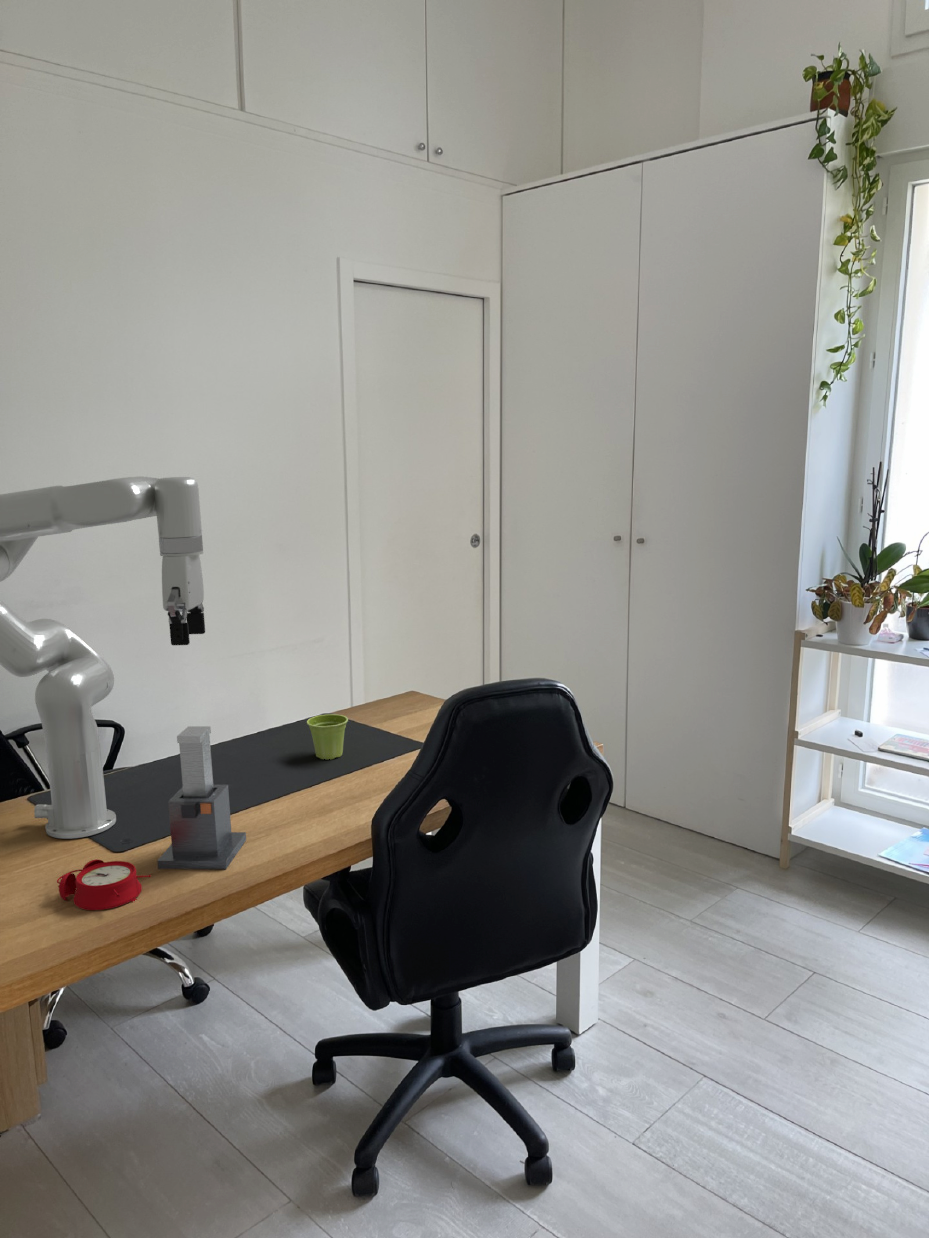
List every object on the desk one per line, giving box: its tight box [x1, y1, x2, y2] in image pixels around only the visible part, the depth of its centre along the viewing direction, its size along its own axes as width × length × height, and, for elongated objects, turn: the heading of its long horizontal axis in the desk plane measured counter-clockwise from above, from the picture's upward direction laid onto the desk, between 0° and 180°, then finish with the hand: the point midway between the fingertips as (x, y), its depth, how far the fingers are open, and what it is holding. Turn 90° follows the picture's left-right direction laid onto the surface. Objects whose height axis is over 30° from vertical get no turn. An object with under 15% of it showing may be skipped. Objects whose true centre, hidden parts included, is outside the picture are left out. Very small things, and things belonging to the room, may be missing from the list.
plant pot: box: [306, 713, 349, 760], centre depth 217 cm, size 9×9×9 cm
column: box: [176, 725, 214, 798], centre depth 164 cm, size 4×6×21 cm
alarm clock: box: [56, 859, 152, 911], centre depth 152 cm, size 10×6×15 cm
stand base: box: [156, 784, 247, 870], centre depth 165 cm, size 12×12×12 cm
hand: (188, 639), depth 171 cm, fingers open, 9 cm apart
